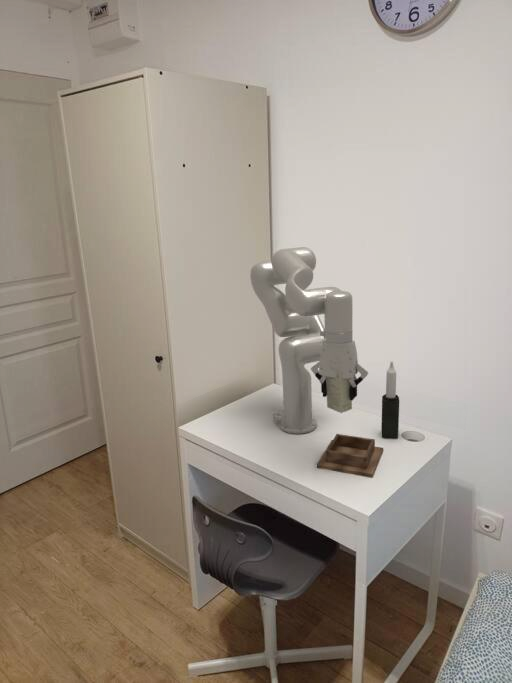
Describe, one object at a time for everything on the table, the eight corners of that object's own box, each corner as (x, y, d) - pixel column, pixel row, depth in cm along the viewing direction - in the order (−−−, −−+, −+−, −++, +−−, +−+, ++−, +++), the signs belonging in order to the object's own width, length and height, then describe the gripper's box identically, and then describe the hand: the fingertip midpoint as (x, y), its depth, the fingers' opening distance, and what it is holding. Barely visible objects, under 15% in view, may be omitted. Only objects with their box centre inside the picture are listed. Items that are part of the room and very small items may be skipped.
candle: (398, 439, 158) (401, 364, 151) (381, 438, 159) (383, 363, 152) (397, 432, 163) (399, 358, 156) (381, 431, 164) (382, 358, 157)
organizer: (316, 467, 144) (316, 453, 143) (331, 442, 158) (331, 429, 157) (372, 477, 137) (372, 462, 136) (383, 450, 151) (383, 437, 150)
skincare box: (352, 409, 141) (352, 368, 138) (340, 413, 139) (340, 372, 136) (336, 403, 146) (336, 363, 143) (325, 407, 144) (324, 367, 141)
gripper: (303, 337, 138) (305, 397, 143) (366, 342, 130) (366, 405, 135) (313, 331, 144) (314, 389, 149) (373, 335, 137) (372, 396, 141)
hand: (339, 396), depth 142 cm, fingers closed on skincare box, 7 cm apart
